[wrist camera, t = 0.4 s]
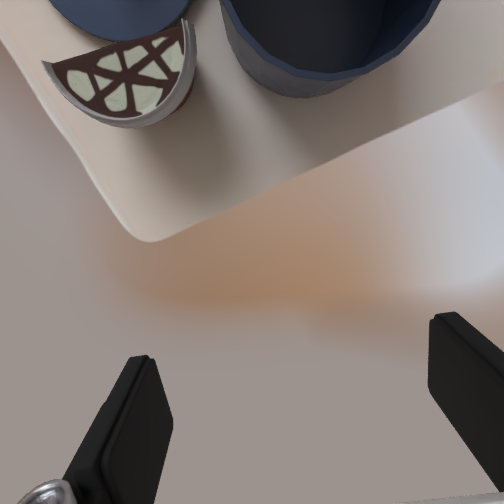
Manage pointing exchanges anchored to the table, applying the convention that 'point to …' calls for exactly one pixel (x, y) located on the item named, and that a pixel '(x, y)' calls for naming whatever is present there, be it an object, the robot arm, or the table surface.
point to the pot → (319, 39)
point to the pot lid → (122, 16)
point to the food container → (131, 78)
